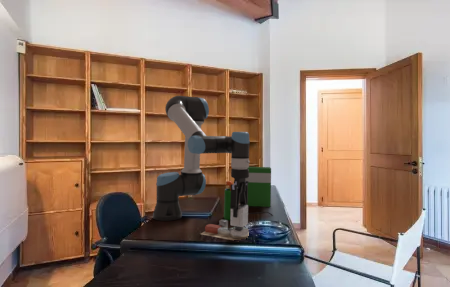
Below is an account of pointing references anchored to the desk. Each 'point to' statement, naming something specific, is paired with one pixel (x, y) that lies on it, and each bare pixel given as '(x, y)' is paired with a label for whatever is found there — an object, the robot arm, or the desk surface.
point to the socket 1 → (223, 223)
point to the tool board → (218, 235)
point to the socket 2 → (241, 216)
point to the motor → (227, 201)
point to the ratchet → (228, 231)
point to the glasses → (259, 212)
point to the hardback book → (259, 186)
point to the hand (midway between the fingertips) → (239, 222)
